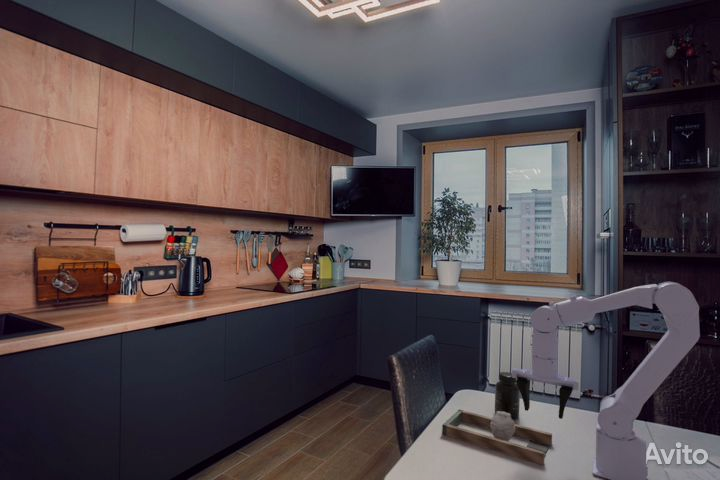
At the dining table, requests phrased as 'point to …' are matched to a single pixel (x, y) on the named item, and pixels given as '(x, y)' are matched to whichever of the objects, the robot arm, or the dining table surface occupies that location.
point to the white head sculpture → (502, 426)
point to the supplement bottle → (507, 395)
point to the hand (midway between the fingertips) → (543, 413)
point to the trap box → (530, 453)
